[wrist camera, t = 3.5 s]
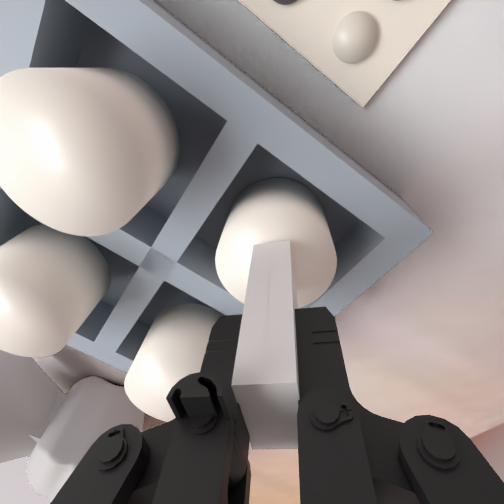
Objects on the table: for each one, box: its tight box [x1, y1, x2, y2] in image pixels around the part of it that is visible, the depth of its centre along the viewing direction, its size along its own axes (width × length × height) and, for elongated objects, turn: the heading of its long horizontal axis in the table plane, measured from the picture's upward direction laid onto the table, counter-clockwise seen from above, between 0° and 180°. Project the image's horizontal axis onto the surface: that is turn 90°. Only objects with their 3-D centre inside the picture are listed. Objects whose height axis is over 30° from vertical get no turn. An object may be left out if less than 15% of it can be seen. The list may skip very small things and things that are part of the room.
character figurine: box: [0, 350, 146, 503], centre depth 25 cm, size 13×9×20 cm
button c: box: [0, 68, 180, 236], centre depth 11 cm, size 5×5×4 cm
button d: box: [0, 224, 111, 358], centre depth 15 cm, size 5×5×4 cm
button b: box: [124, 303, 223, 422], centre depth 17 cm, size 5×5×4 cm
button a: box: [215, 178, 337, 308], centre depth 15 cm, size 5×5×4 cm
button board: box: [0, 0, 434, 373], centre depth 17 cm, size 18×18×4 cm
